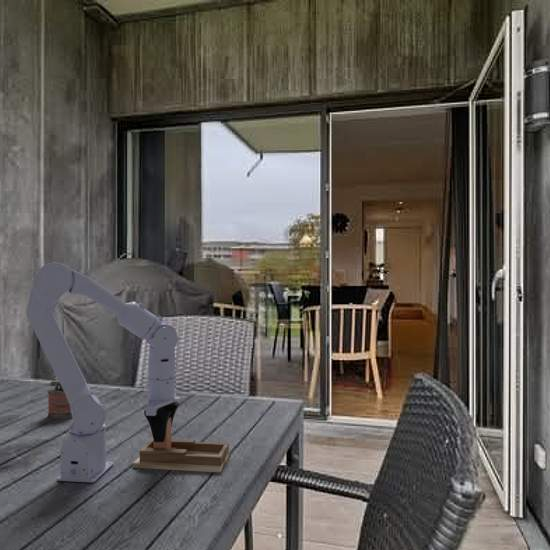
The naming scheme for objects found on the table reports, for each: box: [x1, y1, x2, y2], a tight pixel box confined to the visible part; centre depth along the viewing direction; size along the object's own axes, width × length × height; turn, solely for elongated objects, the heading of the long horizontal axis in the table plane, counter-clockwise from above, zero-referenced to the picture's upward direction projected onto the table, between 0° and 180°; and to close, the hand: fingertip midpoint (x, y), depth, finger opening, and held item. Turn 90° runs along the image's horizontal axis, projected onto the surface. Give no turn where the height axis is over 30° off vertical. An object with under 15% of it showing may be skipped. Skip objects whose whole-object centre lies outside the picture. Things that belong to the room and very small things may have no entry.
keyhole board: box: [132, 437, 231, 473], centre depth 113 cm, size 10×19×3 cm, turn 83°
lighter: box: [47, 380, 73, 419], centre depth 145 cm, size 8×3×10 cm, turn 92°
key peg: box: [153, 417, 177, 449], centre depth 114 cm, size 5×5×8 cm
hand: (161, 438), depth 114 cm, fingers closed on key peg, 3 cm apart
